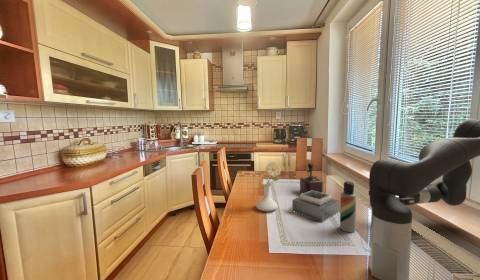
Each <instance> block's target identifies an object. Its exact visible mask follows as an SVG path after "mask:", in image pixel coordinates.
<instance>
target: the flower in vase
mask: <svg viewBox="0 0 480 280" xmlns="http://www.w3.org/2000/svg"><path fill="white" fill-rule="evenodd" d="M265 172H266V174H267V175H268V176H270V178H269V179H268V178H266V177H263V176H261V178H262V179H264V180H267V181H262V182H261V184H262V186H263V189H264V195H263V197H262V198H261V199H259V200H258V201H257V202H256V203H255V207H256V209H258V210H259V211H261V212H262V211H263V212H273V211H276V210H277V209H278V203H277V202H276V201H275V200H273V199H272V198H271V197H270V187H271V185H272V182H271V180H272V181H273V182H277V181H280V178H279V177H278V176H279V175H280V174H281V172H282V168H281V167H280V164H279V163H278V162H275V161H270V162H269V163H266V167H265Z"/></svg>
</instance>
